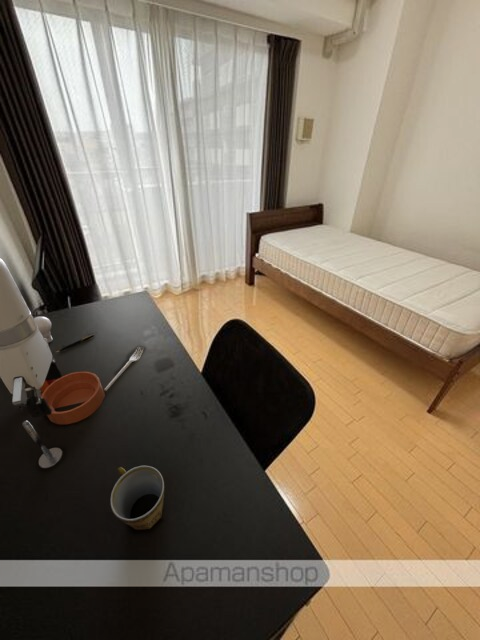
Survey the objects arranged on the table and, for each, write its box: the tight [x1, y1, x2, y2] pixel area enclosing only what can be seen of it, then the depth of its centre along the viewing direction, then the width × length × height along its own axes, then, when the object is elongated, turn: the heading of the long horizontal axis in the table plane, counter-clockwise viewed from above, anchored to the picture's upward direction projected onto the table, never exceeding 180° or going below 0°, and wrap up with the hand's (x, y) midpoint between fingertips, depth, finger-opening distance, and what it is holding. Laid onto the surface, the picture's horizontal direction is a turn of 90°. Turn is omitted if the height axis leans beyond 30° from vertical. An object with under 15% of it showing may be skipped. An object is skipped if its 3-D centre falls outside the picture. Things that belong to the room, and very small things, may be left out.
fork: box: [103, 346, 145, 392], centre depth 95 cm, size 3×20×2 cm, turn 163°
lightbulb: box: [33, 315, 54, 343], centre depth 104 cm, size 6×6×11 cm
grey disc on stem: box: [21, 420, 64, 470], centre depth 65 cm, size 5×5×16 cm
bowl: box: [41, 371, 106, 425], centre depth 82 cm, size 15×15×6 cm
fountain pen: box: [55, 334, 95, 353], centre depth 106 cm, size 14×1×2 cm, turn 135°
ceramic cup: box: [109, 465, 165, 531], centre depth 58 cm, size 13×10×10 cm
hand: (49, 395), depth 58 cm, fingers open, 9 cm apart
